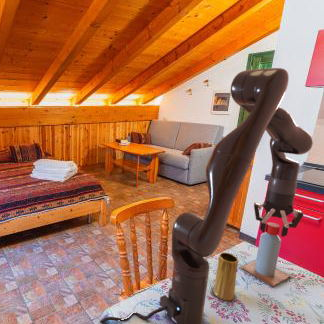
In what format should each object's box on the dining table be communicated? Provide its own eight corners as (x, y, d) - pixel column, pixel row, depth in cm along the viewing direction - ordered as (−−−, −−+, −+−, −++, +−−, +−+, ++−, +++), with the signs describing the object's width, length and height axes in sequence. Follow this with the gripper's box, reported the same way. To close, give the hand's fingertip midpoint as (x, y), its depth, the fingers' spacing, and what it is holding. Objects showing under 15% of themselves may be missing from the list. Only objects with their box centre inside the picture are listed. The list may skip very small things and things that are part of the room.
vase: (213, 297, 83) (218, 259, 79) (212, 285, 88) (217, 249, 85) (234, 303, 80) (240, 265, 77) (233, 290, 85) (238, 254, 82)
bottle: (268, 278, 90) (277, 231, 86) (251, 268, 95) (259, 224, 91) (277, 273, 93) (287, 227, 88) (260, 264, 98) (268, 220, 93)
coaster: (273, 286, 87) (273, 285, 87) (241, 268, 96) (241, 267, 96) (290, 277, 91) (290, 276, 91) (258, 260, 101) (258, 259, 101)
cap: (274, 236, 88) (276, 228, 87) (263, 231, 91) (264, 223, 90) (280, 233, 89) (281, 225, 88) (269, 229, 92) (270, 221, 92)
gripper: (255, 189, 87) (248, 232, 91) (311, 197, 79) (300, 244, 83) (255, 183, 93) (248, 224, 97) (307, 190, 85) (297, 234, 89)
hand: (272, 233), depth 90 cm, fingers open, 5 cm apart
